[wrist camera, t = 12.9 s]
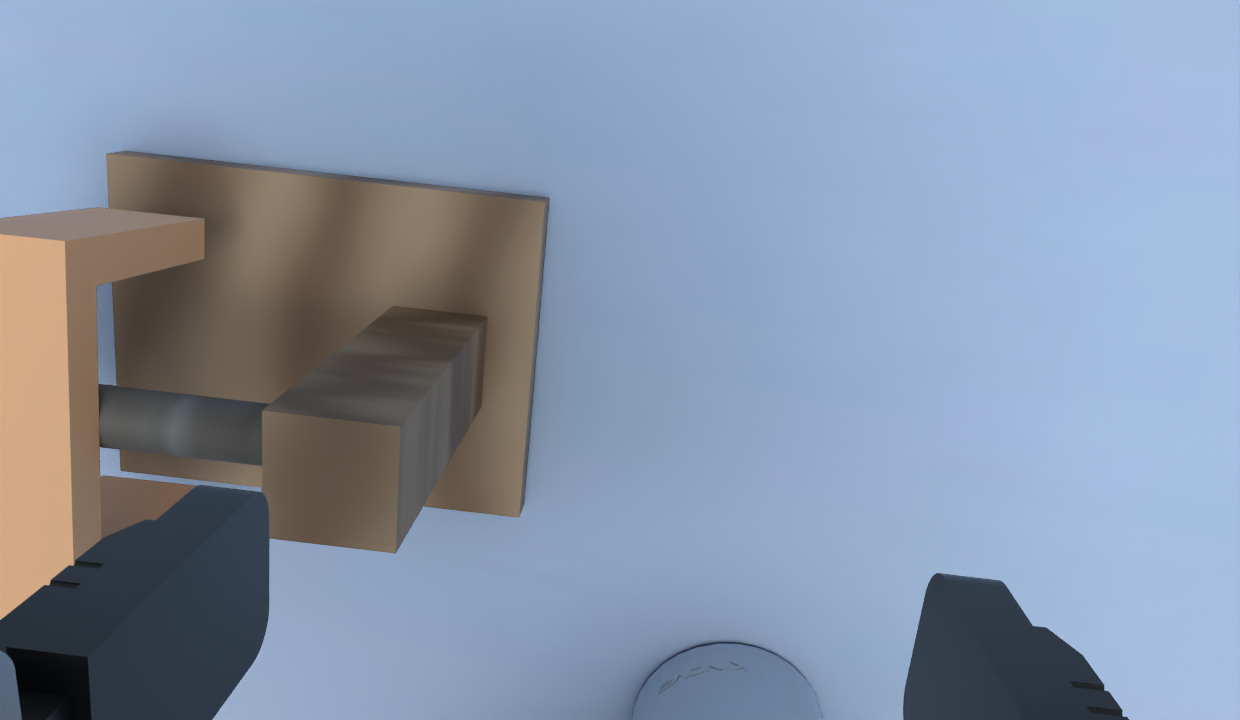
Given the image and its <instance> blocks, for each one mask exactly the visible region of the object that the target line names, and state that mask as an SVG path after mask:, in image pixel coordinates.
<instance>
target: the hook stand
mask: <svg viewBox="0 0 1240 720" xmlns="http://www.w3.org/2000/svg"><path fill="white" fill-rule="evenodd" d="M106 157H107V179H108V201H109V209H118V210H128V211H137V212H147V213H156V214H165V215H175V216H184V217H194V218H203V219H205V222H204V259H203V260H199V261H195V262H190V263H186V264H182V265H178V266H174V267H170V268H166V269H162V270H158V271H154V272H150V273H146V274H142V275H138V276H134V277H130V278H126V279H122V280H118V281H114V282H112V290H113V313H114V335H115V357H116V379H117V386H112V385H104V384H98V395H99V445H100V447H103V448H112V449H120V469H121V471H127V472H135V473H144V474H152V475H161V476H170V477H178V478H187V479H195V480H204V481H212V482H221V483H229V484H238V485H246V486H255V487H262V493H263V494H264V495H265V497H266V499H267V502H268V507H269V538H271V539H279V540H288V541H296V542H304V543H313V544H321V545H330V546H338V547H347V548H355V549H364V550H372V551H380V552H389V553H396V552H397V550H398V548H399V547H400V545H401V543H402V541H403V540H404V538H405V536H406V535H407V533H408V531H409V530H410V528H411V526H412V524H413V523H414V521H415V519H416V518H417V516H418V514H419V512H420V511H421V509H422V507H423V506H425V507H433V508H442V509H450V510H459V511H467V512H476V513H485V514H493V515H502V516H510V517H519V516H520V514H521V511H522V508H523V505H524V498H525V486H526V474H527V462H528V450H529V437H530V425H531V413H532V401H533V389H534V377H535V365H536V353H537V341H538V329H539V316H540V304H541V292H542V280H543V268H544V256H545V244H546V232H547V220H548V207H549V198H545V197H536V196H527V195H518V194H509V193H500V192H491V191H482V190H473V189H464V188H455V187H446V186H437V185H428V184H419V183H410V182H401V181H392V180H383V179H374V178H365V177H356V176H347V175H338V174H329V173H320V172H311V171H302V170H293V169H284V168H275V167H266V166H257V165H248V164H238V163H229V162H220V161H211V160H202V159H193V158H184V157H175V156H166V155H157V154H148V153H139V152H130V151H123V152H115V153H107V154H106Z"/></svg>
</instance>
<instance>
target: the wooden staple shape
mask: <svg viewBox="0 0 1240 720" xmlns="http://www.w3.org/2000/svg"><path fill="white" fill-rule="evenodd" d="M204 222H205V219H203V218H194V217H184V216H175V215H165V214H156V213H147V212H137V211H128V210H118V209H109V208H100V207H96V208H87V209H78V210H69V211H60V212H51V213H42V214H33V215H24V216H15V217H6V218H0V618H4V617H5V616H6V615H7V614H9V613H10V612H11V611H12V610H14V609H15V608H16V607H17V606H19V605H20V604H21V603H22V602H24V601H25V600H26V599H27V598H29V597H30V596H31V595H32V594H34V593H35V592H36V591H37V590H39V589H40V588H41V587H42V586H44V585H50V581H51V579H52V578H54V577H55V576H56V575H57V574H59V573H60V572H61V571H62V570H64V569H65V568H66V567H67V566H69V565H72V566H74V563H75V560H76V559H77V558H79V557H80V556H81V555H82V554H84V553H85V552H86V551H87V550H89V549H90V548H91V547H92V546H94V545H95V544H96V543H97V542H99V541H100V540H101V539H102V538H104V537H106V536H108V535H110V534H113V533H115V532H118V531H120V530H122V529H125V528H127V527H129V526H132V525H134V524H136V523H139V522H141V521H144V520H154V521H155V520H156V519H158V518H159V517H160V516H161V515H162V514H163V513H165V512H166V511H167V510H168V509H169V508H171V507H172V506H173V505H174V504H175V503H176V502H178V501H179V500H180V499H181V498H182V497H184V496H185V495H186V494H187V493H188V492H189V491H191V490H192V489H193V488H195V487H196V486H194V485H185V484H176V483H167V482H158V481H149V480H140V479H131V478H122V477H113V476H104V475H103V476H101V477H100V445H99V395H98V345H97V295H96V286H98V285H102V284H106V283H110V282H114V281H118V280H122V279H126V278H130V277H134V276H138V275H142V274H146V273H150V272H154V271H158V270H162V269H166V268H170V267H174V266H178V265H182V264H186V263H190V262H195V261H199V260H203V259H204Z"/></svg>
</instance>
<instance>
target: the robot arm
mask: <svg viewBox="0 0 1240 720" xmlns="http://www.w3.org/2000/svg"><path fill="white" fill-rule="evenodd" d="M268 615H269V507H268V502H267V499H266V497H265V495H264V494H263V493H261V492H255V491H246V490H238V489H229V488H221V487H212V486H204V485H199V486H196V487H195V488H193V489H192V490H191V491H189V492H188V493H187V494H186V495H185V496H184V497H182V498H181V499H180V500H179V501H178V502H176V503H175V504H174V505H173V506H172V507H171V508H169V509H168V510H167V511H166V512H165V513H163V514H162V515H161V516H160V517H159V518H158V519H156V520H155V521H154V520H144V521H141V522H139V523H136V524H134V525H132V526H129V527H127V528H125V529H122V530H120V531H118V532H115V533H113V534H110V535H108V536H106V537H104V538H102V539H101V540H100V541H99V542H97V543H96V544H95V545H94V546H92V547H91V548H90V549H89V550H87V551H86V552H85V553H84V554H82V555H81V556H80V557H79V558H77V559H76V560H75V563H74V566H72V565H69V566H67V567H66V568H65V569H64V570H62V571H61V572H60V573H59V574H57V575H56V576H55V577H54V578H52V579H51V581H50V585H44V586H42V587H41V588H40V589H39V590H37V591H36V592H35V593H34V594H32V595H31V596H30V597H29V598H27V599H26V600H25V601H24V602H22V603H21V604H20V605H19V606H17V607H16V608H15V609H14V610H12V611H11V612H10V613H9V614H7V615H6V616H5V617H4V618H2V619H1V620H0V720H212V719H213V718H214V716H215V715H216V714H217V712H218V711H219V709H220V708H221V707H222V705H223V704H224V702H225V701H226V700H227V698H228V697H229V696H230V694H231V693H232V691H233V690H234V689H235V687H236V686H237V684H238V683H239V682H240V680H241V679H242V678H243V676H244V675H245V673H246V672H247V671H248V669H249V668H250V666H251V665H252V664H253V662H254V660H255V659H256V657H257V655H258V653H259V651H260V648H261V645H262V643H263V639H264V636H265V632H266V628H267V622H268ZM903 717H904V720H1129V719H1128V718H1127V717H1123V716H1122V709H1121V708H1120V706H1119V705H1118V704H1117V702H1116V701H1115V699H1114V698H1113V697H1112V695H1111V694H1110V693H1109V691H1104V684H1103V683H1102V681H1101V680H1100V679H1099V677H1098V676H1097V675H1096V673H1095V672H1094V670H1093V669H1092V668H1091V666H1090V665H1089V663H1088V662H1087V661H1086V659H1085V658H1084V656H1083V655H1082V654H1080V653H1079V652H1078V651H1076V650H1075V649H1074V648H1072V647H1071V646H1070V645H1068V644H1067V643H1066V642H1064V641H1063V640H1062V639H1060V638H1059V637H1058V636H1057V635H1055V634H1054V633H1053V632H1051V631H1050V630H1049V629H1047V628H1044V627H1036V626H1032V624H1031V623H1030V621H1029V620H1028V618H1027V617H1026V615H1025V614H1024V612H1023V611H1022V609H1021V608H1020V606H1019V605H1018V603H1017V602H1016V600H1015V599H1014V597H1013V596H1012V594H1011V593H1010V591H1009V590H1008V588H1007V587H1006V585H1005V584H1004V583H1003V582H1002V581H999V580H991V579H983V578H974V577H966V576H957V575H949V574H940V573H937V574H935V575H934V576H933V577H932V578H931V580H930V582H929V584H928V587H927V590H926V594H925V598H924V602H923V607H922V612H921V616H920V621H919V626H918V630H917V635H916V639H915V644H914V649H913V653H912V658H911V663H910V667H909V672H908V677H907V681H906V686H905V693H904V704H903ZM633 720H823V717H822V713H821V709H820V706H819V703H818V700H817V697H816V695H815V693H814V691H813V690H812V688H811V686H810V685H809V683H808V681H807V680H806V679H805V678H804V677H803V676H802V675H801V674H800V673H799V672H798V671H797V670H796V669H795V668H794V666H792V665H791V664H789V663H788V662H786V661H785V660H783V659H782V658H780V657H779V656H777V655H775V654H772V653H770V652H767V651H765V650H762V649H760V648H756V647H751V646H747V645H742V644H713V645H707V646H701V647H697V648H694V649H691V650H689V651H686V652H683V653H681V654H678V655H677V656H675V657H674V658H672V659H670V660H669V661H667V662H666V663H664V664H663V665H661V666H660V667H659V668H658V669H657V670H656V671H655V672H654V673H653V674H652V675H651V676H650V677H649V679H648V680H647V682H646V683H645V685H644V686H643V688H642V689H641V691H640V692H639V695H638V698H637V701H636V704H635V706H634V710H633Z"/></svg>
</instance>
